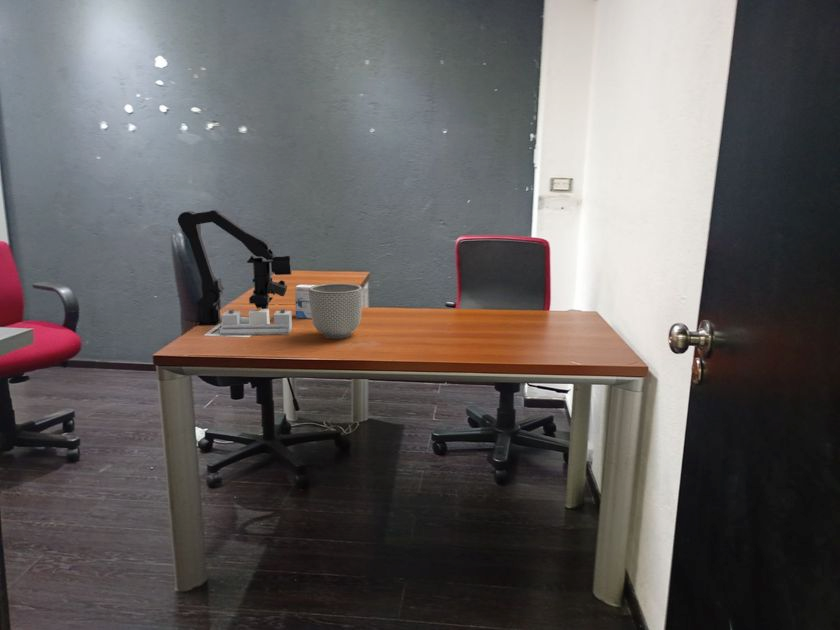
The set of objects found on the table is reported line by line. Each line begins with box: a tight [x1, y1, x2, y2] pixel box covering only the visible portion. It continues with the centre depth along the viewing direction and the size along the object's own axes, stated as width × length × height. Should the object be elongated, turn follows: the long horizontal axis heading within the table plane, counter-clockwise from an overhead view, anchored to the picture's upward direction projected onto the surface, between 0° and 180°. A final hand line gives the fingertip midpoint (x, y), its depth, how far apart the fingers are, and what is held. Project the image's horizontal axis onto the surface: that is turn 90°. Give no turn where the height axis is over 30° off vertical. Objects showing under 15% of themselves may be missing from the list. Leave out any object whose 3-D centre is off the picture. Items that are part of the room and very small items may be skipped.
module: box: [248, 307, 271, 324], centre depth 213 cm, size 6×5×7 cm
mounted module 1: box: [220, 308, 242, 325], centre depth 208 cm, size 5×6×7 cm
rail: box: [219, 323, 291, 336], centre depth 204 cm, size 22×3×3 cm, turn 94°
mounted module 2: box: [273, 308, 293, 332], centre depth 209 cm, size 5×6×7 cm
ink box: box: [294, 284, 316, 319], centre depth 228 cm, size 9×5×12 cm, turn 84°
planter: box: [309, 282, 364, 340], centre depth 201 cm, size 17×17×16 cm
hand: (264, 318), depth 221 cm, fingers closed
